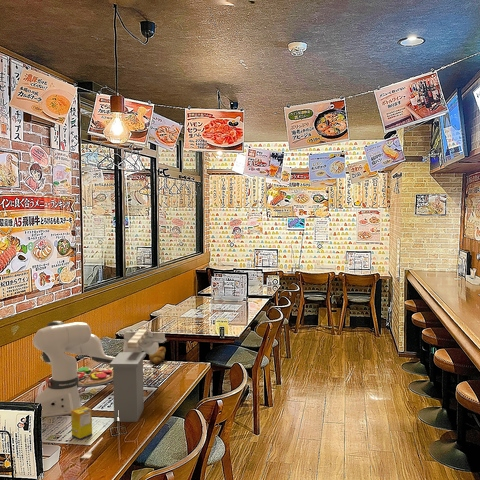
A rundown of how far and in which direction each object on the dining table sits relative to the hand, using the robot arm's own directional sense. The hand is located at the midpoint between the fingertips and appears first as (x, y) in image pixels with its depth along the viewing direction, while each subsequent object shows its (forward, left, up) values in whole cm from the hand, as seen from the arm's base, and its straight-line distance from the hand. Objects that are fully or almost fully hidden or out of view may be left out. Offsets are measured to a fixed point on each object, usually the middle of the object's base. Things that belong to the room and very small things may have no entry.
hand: (142, 332), depth 252 cm
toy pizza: (-17, +39, -32) cm, 53 cm away
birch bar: (-5, -8, -2) cm, 9 cm away
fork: (-35, -46, -32) cm, 66 cm away
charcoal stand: (-14, -21, -31) cm, 40 cm away
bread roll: (+26, +51, -32) cm, 65 cm away
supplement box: (-37, -32, -31) cm, 58 cm away
